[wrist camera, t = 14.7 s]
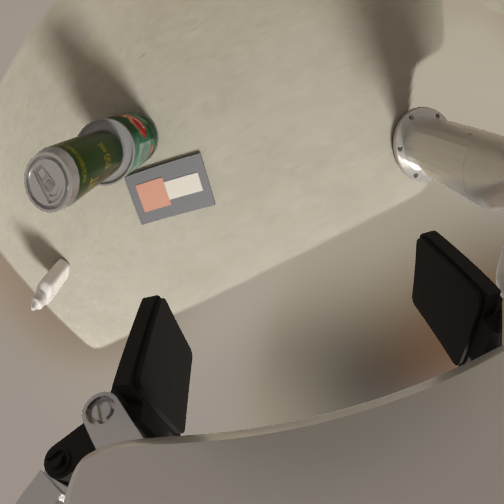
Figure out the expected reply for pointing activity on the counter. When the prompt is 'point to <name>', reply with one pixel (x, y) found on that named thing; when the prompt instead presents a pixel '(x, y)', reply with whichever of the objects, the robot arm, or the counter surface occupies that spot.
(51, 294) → the eye dropper bottle
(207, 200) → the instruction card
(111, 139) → the beer can
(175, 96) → the counter surface
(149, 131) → the canned tomato
